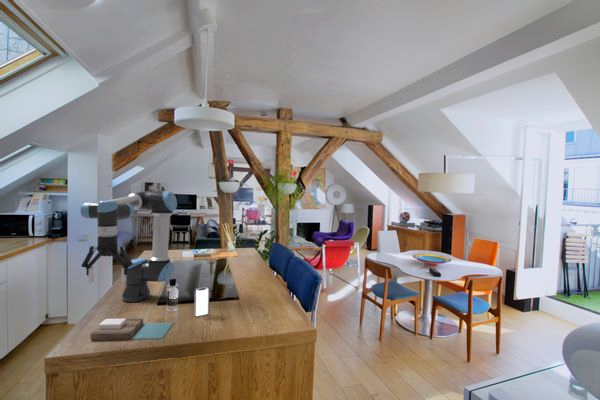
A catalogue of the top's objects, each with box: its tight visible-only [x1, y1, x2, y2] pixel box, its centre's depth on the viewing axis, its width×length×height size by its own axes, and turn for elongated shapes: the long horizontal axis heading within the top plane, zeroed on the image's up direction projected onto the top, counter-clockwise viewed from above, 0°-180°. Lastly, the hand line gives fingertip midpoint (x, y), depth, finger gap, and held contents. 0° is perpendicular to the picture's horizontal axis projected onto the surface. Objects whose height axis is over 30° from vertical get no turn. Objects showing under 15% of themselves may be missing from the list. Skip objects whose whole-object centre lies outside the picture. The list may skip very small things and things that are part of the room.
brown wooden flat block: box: [90, 317, 144, 342], centre depth 141 cm, size 15×16×3 cm
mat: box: [131, 322, 174, 341], centre depth 143 cm, size 15×13×1 cm
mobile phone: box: [193, 286, 210, 318], centre depth 161 cm, size 8×1×15 cm, turn 124°
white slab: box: [98, 318, 127, 329], centre depth 141 cm, size 6×9×2 cm, turn 96°
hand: (107, 282), depth 137 cm, fingers open, 13 cm apart
